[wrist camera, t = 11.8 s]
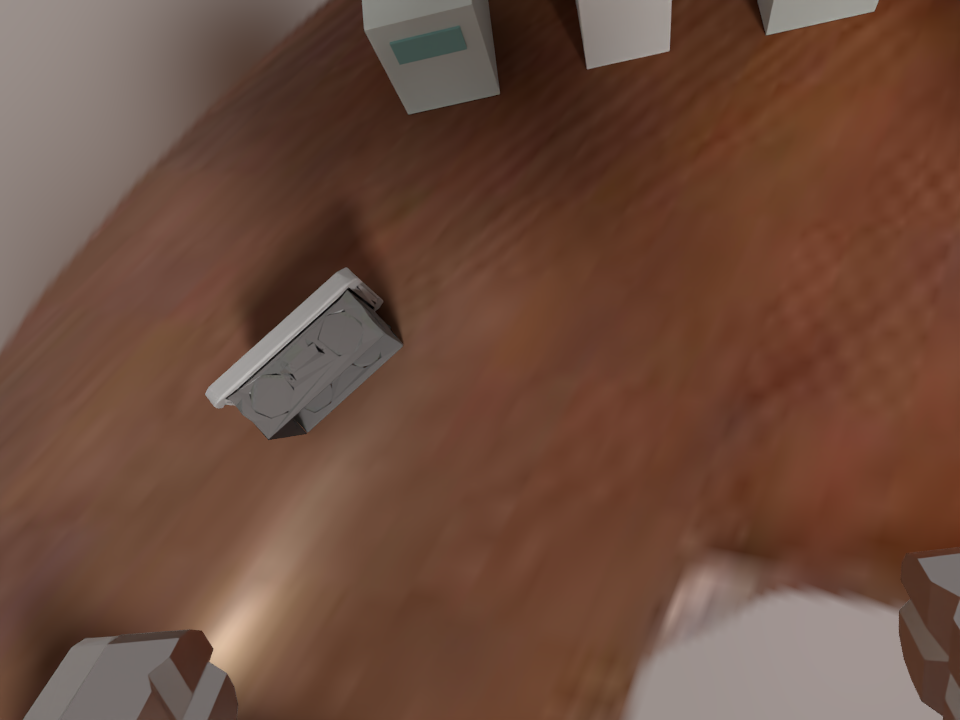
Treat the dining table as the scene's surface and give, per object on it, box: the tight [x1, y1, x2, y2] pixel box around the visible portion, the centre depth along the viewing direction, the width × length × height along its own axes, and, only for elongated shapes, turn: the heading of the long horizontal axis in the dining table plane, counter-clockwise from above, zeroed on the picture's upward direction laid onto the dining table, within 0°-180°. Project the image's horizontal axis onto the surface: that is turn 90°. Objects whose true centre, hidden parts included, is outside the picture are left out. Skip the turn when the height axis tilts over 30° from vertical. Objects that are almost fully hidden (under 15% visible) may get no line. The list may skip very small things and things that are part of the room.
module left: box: [362, 0, 500, 115], centre depth 45 cm, size 6×8×8 cm
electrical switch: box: [205, 267, 403, 440], centre depth 41 cm, size 9×5×9 cm, turn 131°
